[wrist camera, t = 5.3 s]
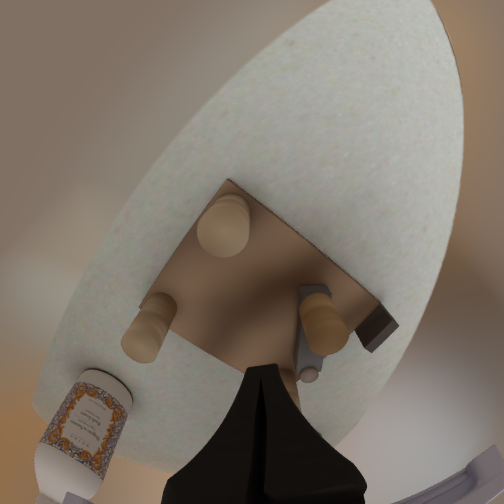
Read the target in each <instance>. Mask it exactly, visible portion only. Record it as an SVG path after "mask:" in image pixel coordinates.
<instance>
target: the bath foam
mask: <svg viewBox="0 0 504 504" xmlns="http://www.w3.org/2000/svg"><path fill="white" fill-rule="evenodd" d="M131 407H132V398H131V395H130V393H129V392H128V390H127V389H126V388H125V386H124V385H123V384H122V383H120V382H119V381H118V380H117V379H115V378H114V377H112V376H111V375H109V374H107V373H104V372H102V371H99V370H86V371H84V372H83V373H82V374H81V375H80V377H79V378H78V380H77V381H76V383H75V384H74V386H73V387H72V389H71V390H70V392H69V393H68V395H67V396H66V398H65V400H64V401H63V403H62V404H61V406H60V408H59V409H58V411H57V413H56V414H55V416H54V418H53V419H52V421H51V423H50V424H49V426H48V428H47V429H46V431H45V433H44V435H43V436H42V438H41V440H40V442H39V444H38V446H37V449H36V453H35V460H34V461H35V462H34V464H35V472H36V477H37V482H38V485H39V490H40V493H39V495H38V497H37V500H36V502H35V504H62V503H63V500H64V497H65V495H66V492H70V493H73V494H75V495H77V496H80V497H82V498H84V499H86V500H88V499H90V498H91V497H93V496H94V495H95V493H96V492H97V491H98V490H99V488H100V486H101V484H102V482H103V480H104V477H105V474H106V472H107V469H108V466H109V463H110V461H111V458H112V455H113V453H114V450H115V447H116V445H117V442H118V440H119V437H120V435H121V432H122V430H123V427H124V425H125V422H126V420H127V417H128V414H129V412H130V409H131Z"/></svg>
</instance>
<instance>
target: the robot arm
mask: <svg viewBox="0 0 504 504" xmlns="http://www.w3.org/2000/svg"><path fill="white" fill-rule="evenodd" d="M366 489H367V484H366V481H365V479H364V477H363V476H362V474H361V473H360V471H359V470H358V469H357V467H356V466H355V465H354V464H353V463H352V462H351V461H349V460H348V459H347V458H345V457H344V456H343V455H341V454H340V453H339V452H338V451H336V450H335V449H334V448H333V447H332V446H331V445H330V444H329V443H328V442H326V441H325V440H324V439H323V438H322V436H321V435H320V434H318V433H317V432H316V430H315V429H314V428H313V427H312V426H311V425H310V423H309V422H308V421H307V420H306V419H305V417H304V416H303V415H302V413H301V412H300V410H299V409H298V407H297V406H296V405H295V403H294V401H293V400H292V398H291V396H290V395H289V393H288V391H287V389H286V387H285V385H284V383H283V381H282V378H281V376H280V373H279V368H278V364H276V363H273V364H267V365H260V366H253V367H248V368H247V369H246V371H245V375H244V378H243V381H242V384H241V386H240V389H239V391H238V393H237V395H236V398H235V400H234V402H233V404H232V406H231V408H230V410H229V412H228V413H227V415H226V417H225V419H224V420H223V422H222V424H221V425H220V427H219V428H218V429H217V431H216V432H215V434H214V435H213V436H212V438H211V439H210V440H209V441H208V443H207V444H206V445H205V446H204V447H203V449H202V450H201V451H200V452H199V453H198V454H197V455H196V456H195V457H194V458H193V459H192V460H191V461H190V462H189V463H188V464H187V465H185V466H184V467H183V468H182V469H181V470H179V471H178V472H177V473H176V474H174V475H173V476H172V477H170V478H169V479H168V480H167V483H166V486H165V488H164V491H163V496H162V501H161V504H365V500H364V493H365V491H366ZM502 491H504V459H503V457H502V455H501V454H500V452H499V450H498V448H497V447H496V445H493V446H491V447H490V448H489V449H487V450H486V451H484V452H483V453H481V454H480V455H478V456H477V457H476V458H474V459H473V460H472V461H471V462H470V463H468V465H467V466H466V467H465V468H464V469H462V470H461V471H459V472H457V473H456V474H454V475H452V476H450V477H448V478H447V479H445V480H443V481H441V482H439V483H437V484H435V485H433V486H431V487H429V488H427V489H425V490H424V491H421V492H419V493H417V494H415V495H412V496H410V497H408V498H405V499H403V500H401V501H398V502H395V503H393V504H487V503H488V502H490V501H491V500H492V499H494V498H495V497H496V496H497V495H499V494H500V493H501V492H502ZM62 504H93V503H92V502H90V501H88V500H86V499H84V498H82V497H80V496H77V495H75V494H73V493H70V492H66V495H65V497H64V500H63V503H62Z"/></svg>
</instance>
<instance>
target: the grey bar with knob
mask: <svg viewBox="0 0 504 504" xmlns="http://www.w3.org/2000/svg"><path fill="white" fill-rule="evenodd" d="M348 338H349V332H348V329H347V327H346V325H345V323H344V321H343V319H342V318H341V316H340V314H339V312H338V310H337V308H336V306H335V304H334V303H333V301H332V294H331V292H330V290H329V288H328V286H327V285H304V286H299V296H298V312H297V327H296V340H295V352H294V365H295V370H296V374H297V373H300V377H301V380H302V381H303V382H305V383H310V382H313V381H315V380H316V379H317V378H318V372H321V368H322V362H323V356H324V355H330V354H334V353H336V352H338V351H339V350H341V349H342V348H343V347H344V346H345V344H346V343H347V341H348Z"/></svg>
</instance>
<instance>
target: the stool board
mask: <svg viewBox="0 0 504 504" xmlns="http://www.w3.org/2000/svg"><path fill="white" fill-rule="evenodd" d="M304 285H327V286H328V288H329V290H330V292H331V294H332V301H333V303H334V304H335V306H336V308H337V310H338V312H339V314H340V316H341V318H342V319H343V321H344V323H345V325H346V327H347V329H348V332H349V335H350V334H351V333H352V332H353V331H354V330H355V332H356V334H357V335H358V337H359V339H360V341H361V343H362V345H363V346H364V348H365V349H366V350H368V351H369V352H371V353H372V352H373V351H374V350H375V349H376V348H378V347H379V346H380V345H381V344H382V343H383V342H384V341H385V340H386V339H387V338H388V337H389V336H390V335H391V334H392V333H393V332H394V331H395V330H396V329H397V328H398V327H399V325H398V323H397V322H396V321H395V320H394V318H393V317H392V316H391V315H390V313H389V312H388V311H387V310H386V308H385V307H384V306H383V305H382V304H381V303H380V302H379V301H378V300H377V299H376V298H375V297H374V296H372V295H371V294H370V293H369V292H368V291H367V290H366V289H364V288H363V287H362V286H361V285H360V284H359V283H358V282H356V281H355V280H354V279H353V278H352V277H351V276H349V275H348V274H347V273H346V272H345V271H344V270H342V269H341V268H340V267H339V266H338V265H337V264H335V263H334V262H333V261H332V260H331V259H329V258H328V257H327V256H326V255H325V254H323V253H322V252H321V251H320V250H319V249H317V248H316V247H315V246H314V245H313V244H311V243H310V242H309V241H308V240H306V239H305V238H304V237H303V236H301V235H300V234H299V233H298V232H297V231H295V230H294V229H293V228H292V227H290V226H289V225H288V224H287V223H285V222H284V221H283V220H282V219H280V218H279V217H278V216H276V215H275V214H274V213H273V212H271V211H270V210H269V209H267V208H266V207H265V206H264V205H262V204H261V203H260V202H258V201H257V200H256V199H255V198H253V197H252V196H251V195H249V194H248V193H247V192H245V191H244V190H243V189H241V188H240V187H239V186H237V185H236V184H235V183H233V182H232V181H231V180H229V179H227V180H226V181H225V183H224V184H223V185H222V187H221V188H220V189H219V191H218V192H217V193H216V195H215V196H214V197H213V199H212V200H211V201H210V203H209V204H208V205H207V207H206V208H205V209H204V211H203V212H202V214H201V215H200V216H199V218H198V219H197V220H196V222H195V223H194V225H193V226H192V228H191V229H190V230H189V232H188V233H187V235H186V236H185V237H184V239H183V240H182V242H181V243H180V245H179V246H178V248H177V249H176V251H175V252H174V253H173V255H172V256H171V258H170V259H169V261H168V262H167V264H166V265H165V267H164V268H163V270H162V271H161V273H160V274H159V276H158V278H157V279H156V281H155V282H154V284H153V285H152V287H151V288H150V290H149V292H148V293H147V295H146V296H145V298H144V299H143V301H142V303H141V304H140V306H139V308H140V309H141V310H140V312H139V313H138V315H137V316H136V318H135V319H134V321H133V322H132V324H131V325H130V327H129V328H128V330H127V331H126V333H125V334H124V336H123V337H122V339H121V346H122V349H123V351H124V352H125V353H126V355H127V356H128V357H130V358H131V359H133V360H134V361H136V362H139V363H151V362H153V361H154V360H155V359H156V357H157V354H158V352H159V350H160V348H161V345H162V343H163V341H164V339H165V336H166V334H167V332H168V330H169V329H171V330H172V331H174V332H175V333H177V334H178V335H180V336H181V337H183V338H185V339H186V340H188V341H189V342H191V343H193V344H194V345H196V346H197V347H199V348H201V349H202V350H204V351H206V352H207V353H209V354H211V355H212V356H214V357H216V358H218V359H219V360H221V361H223V362H225V363H226V364H228V365H230V366H232V367H234V368H235V369H237V370H239V371H241V372H243V373H245V371H246V369H247V368H248V367H253V366H260V365H267V364H273V363H276V364H278V368H279V373H280V376H281V378H282V381H283V383H284V385H285V387H286V389H287V391H288V393H289V395H290V396H291V398H292V400H293V401H294V403H295V405H296V406H297V407H298V409H299V410H300V412H301V407H300V401H299V396H298V390H297V384H296V382H297V381H298V380H299V379H300V378H301V377H300V373H297V374H296V370H295V365H294V352H295V340H296V327H297V312H298V296H299V286H304ZM326 356H327V355H324V356H323V359H324V358H325V357H326Z"/></svg>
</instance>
